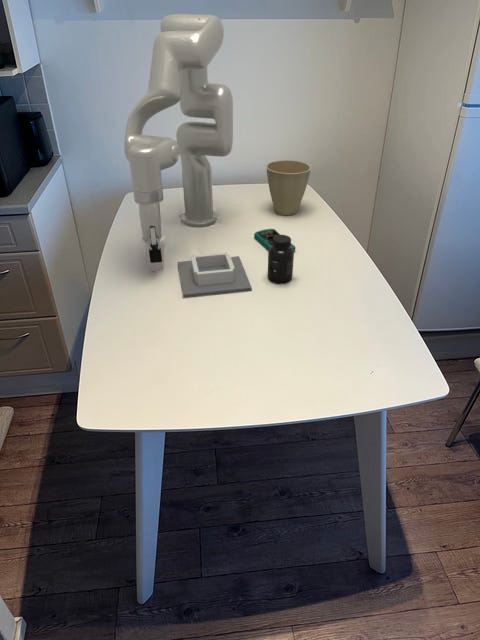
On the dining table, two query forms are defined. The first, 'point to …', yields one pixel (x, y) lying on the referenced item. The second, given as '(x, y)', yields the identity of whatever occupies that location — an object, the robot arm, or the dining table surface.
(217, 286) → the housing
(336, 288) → the dining table surface
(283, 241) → the supplement bottle
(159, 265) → the smoothie
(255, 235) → the digital multimeter
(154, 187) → the robot arm
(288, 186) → the plant pot
